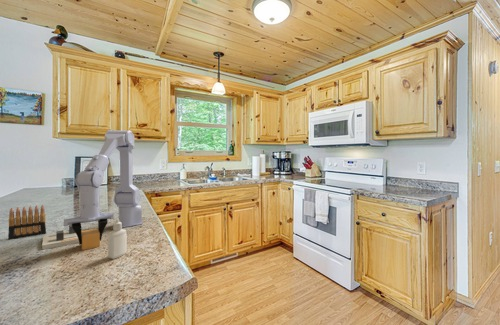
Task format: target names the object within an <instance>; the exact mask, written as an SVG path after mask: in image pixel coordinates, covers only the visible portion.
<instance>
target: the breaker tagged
mask: <svg viewBox="0 0 500 325" xmlns="http://www.w3.org/2000/svg"><path fill="white" fill-rule="evenodd" d="M64 232H65V231H64V229H63V230H57V231H56V232H55V233H56V241H59V240H64Z"/></svg>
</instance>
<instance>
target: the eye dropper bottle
mask: <svg viewBox="0 0 500 325" xmlns="http://www.w3.org/2000/svg"><path fill="white" fill-rule="evenodd" d="M127 239H128V238H127V230H126V229H125V228H123V227H122V223H121V222H119V218H116V219H115V221H114V222H113V223H112V231H111V232H110V233H109V234H108V238H107V240H108V241H107V256H108V257H107V258H108V259H113V260H114V259H117V258H120V257H123V256H124V255H125V254H126V253H127V250H128V248H127V247H128V246H127V244H128V243H127V242H128V240H127Z"/></svg>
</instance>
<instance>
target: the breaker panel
mask: <svg viewBox="0 0 500 325" xmlns="http://www.w3.org/2000/svg"><path fill="white" fill-rule="evenodd" d="M63 232H64V240H59V241H56V232H54V233H46V234H43V237H42V238H43V239H42V244H41V250H42V251H43V250H48V249H54V248H58V247H63V246H68V245H69V246H70V245H74V244H79V239H78V237H77V235H76V233H72V234H69V230H67V231H63Z"/></svg>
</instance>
